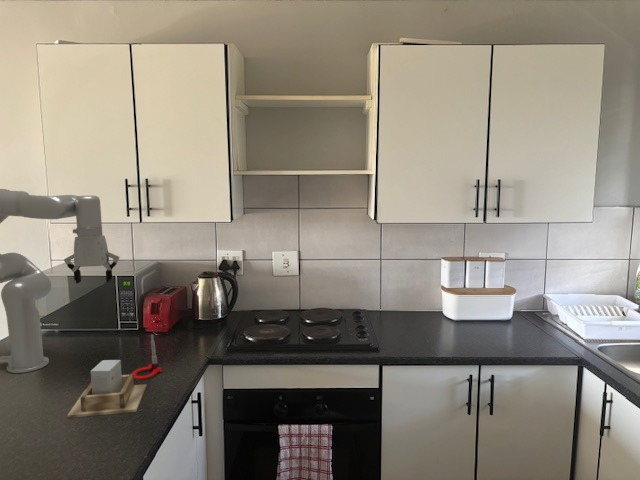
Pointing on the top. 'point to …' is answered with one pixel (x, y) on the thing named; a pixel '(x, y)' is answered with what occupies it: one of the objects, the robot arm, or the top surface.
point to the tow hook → (153, 365)
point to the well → (109, 400)
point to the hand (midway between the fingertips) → (93, 281)
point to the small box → (106, 377)
